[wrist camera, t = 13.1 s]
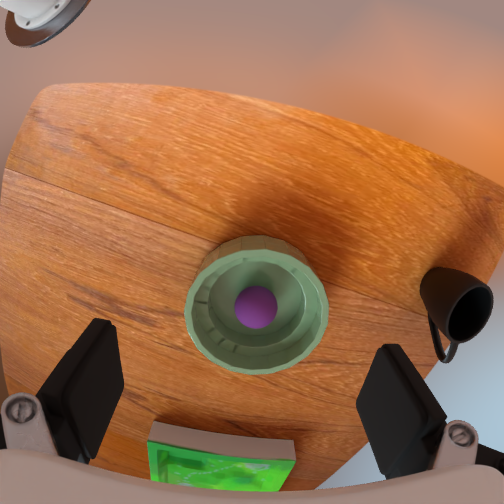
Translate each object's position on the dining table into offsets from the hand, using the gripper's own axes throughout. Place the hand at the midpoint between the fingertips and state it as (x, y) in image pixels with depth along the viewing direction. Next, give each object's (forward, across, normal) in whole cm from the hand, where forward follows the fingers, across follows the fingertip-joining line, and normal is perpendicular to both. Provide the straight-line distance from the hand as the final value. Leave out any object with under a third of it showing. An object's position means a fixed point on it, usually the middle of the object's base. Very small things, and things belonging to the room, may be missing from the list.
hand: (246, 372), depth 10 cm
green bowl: (+26, -2, +10) cm, 28 cm away
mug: (+26, -28, +8) cm, 39 cm away
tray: (+26, +1, +50) cm, 57 cm away
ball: (+26, -2, +10) cm, 28 cm away
